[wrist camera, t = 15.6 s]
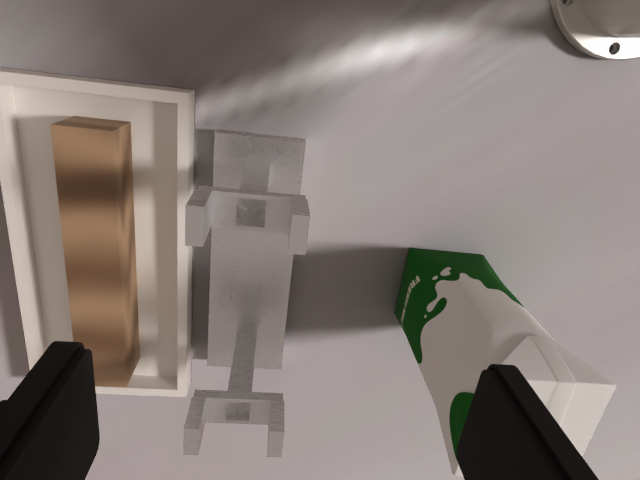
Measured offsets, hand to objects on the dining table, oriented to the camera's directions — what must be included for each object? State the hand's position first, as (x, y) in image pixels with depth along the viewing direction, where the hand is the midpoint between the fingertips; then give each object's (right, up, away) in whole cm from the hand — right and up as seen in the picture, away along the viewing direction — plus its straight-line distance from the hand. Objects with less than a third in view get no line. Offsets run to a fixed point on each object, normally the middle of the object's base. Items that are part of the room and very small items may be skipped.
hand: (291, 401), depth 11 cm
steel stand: (-5, +2, +30) cm, 30 cm away
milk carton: (+12, 0, +32) cm, 34 cm away
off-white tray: (-17, +3, +28) cm, 33 cm away
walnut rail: (-17, +3, +28) cm, 33 cm away
